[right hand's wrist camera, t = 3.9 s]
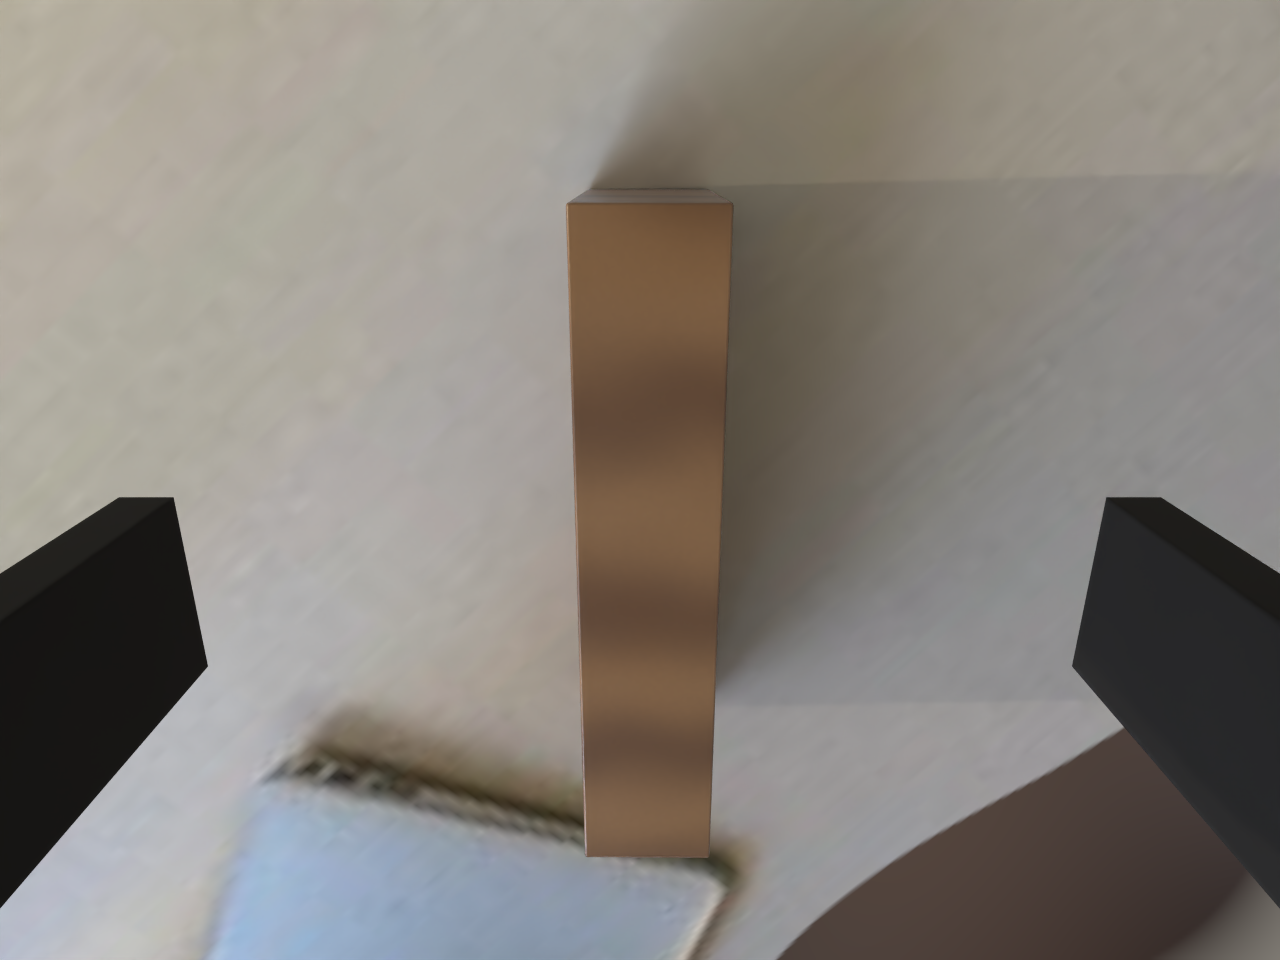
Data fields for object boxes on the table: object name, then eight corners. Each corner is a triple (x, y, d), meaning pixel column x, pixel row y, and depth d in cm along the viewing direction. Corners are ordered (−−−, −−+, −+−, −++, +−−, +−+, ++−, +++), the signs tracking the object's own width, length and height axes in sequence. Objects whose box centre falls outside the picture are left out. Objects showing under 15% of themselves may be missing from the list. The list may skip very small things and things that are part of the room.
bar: (587, 189, 31) (565, 202, 23) (709, 189, 31) (733, 202, 23) (598, 707, 39) (585, 858, 31) (695, 707, 39) (709, 858, 31)
